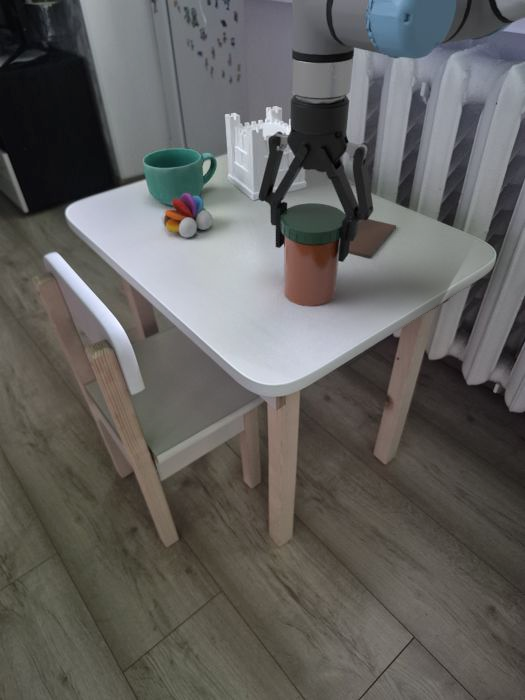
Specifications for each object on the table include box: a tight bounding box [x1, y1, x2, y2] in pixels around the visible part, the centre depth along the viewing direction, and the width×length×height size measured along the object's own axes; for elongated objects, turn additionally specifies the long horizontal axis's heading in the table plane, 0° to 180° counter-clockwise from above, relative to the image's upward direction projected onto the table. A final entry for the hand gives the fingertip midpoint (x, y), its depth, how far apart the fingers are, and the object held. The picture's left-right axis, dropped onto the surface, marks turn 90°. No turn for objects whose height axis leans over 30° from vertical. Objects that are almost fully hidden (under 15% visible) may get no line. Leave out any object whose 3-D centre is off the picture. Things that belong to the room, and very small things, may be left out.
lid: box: [280, 202, 346, 244], centre depth 73 cm, size 10×10×2 cm
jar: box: [282, 236, 340, 307], centre depth 77 cm, size 9×9×13 cm
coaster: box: [344, 213, 397, 259], centre depth 96 cm, size 14×14×1 cm
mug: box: [142, 147, 218, 207], centre depth 107 cm, size 17×13×10 cm
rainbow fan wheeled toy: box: [161, 193, 214, 238], centre depth 96 cm, size 8×10×7 cm
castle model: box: [224, 105, 308, 201], centre depth 111 cm, size 14×14×15 cm
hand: (311, 250), depth 76 cm, fingers closed on lid, 10 cm apart
